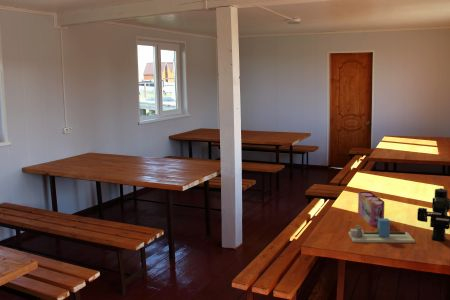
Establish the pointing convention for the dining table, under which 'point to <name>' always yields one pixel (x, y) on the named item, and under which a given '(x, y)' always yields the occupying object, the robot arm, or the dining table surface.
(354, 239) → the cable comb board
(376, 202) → the gum box
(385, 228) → the blue block
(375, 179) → the dining table surface
